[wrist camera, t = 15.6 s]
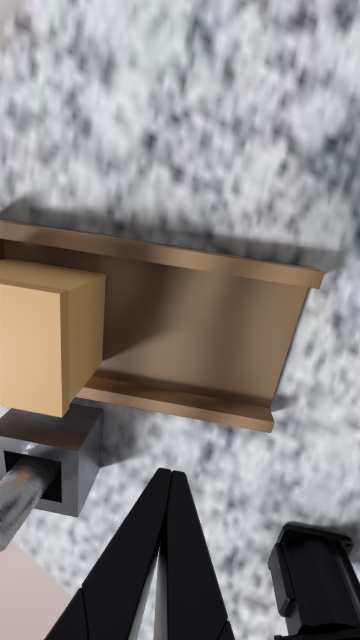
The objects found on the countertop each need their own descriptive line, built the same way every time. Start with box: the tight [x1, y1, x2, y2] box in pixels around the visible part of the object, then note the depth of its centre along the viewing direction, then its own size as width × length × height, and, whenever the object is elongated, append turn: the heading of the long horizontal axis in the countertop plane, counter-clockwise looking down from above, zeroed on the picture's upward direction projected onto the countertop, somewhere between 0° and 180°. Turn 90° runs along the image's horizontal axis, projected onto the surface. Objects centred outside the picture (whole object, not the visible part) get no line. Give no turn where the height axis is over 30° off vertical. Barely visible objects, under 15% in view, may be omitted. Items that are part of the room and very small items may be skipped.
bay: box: [0, 219, 325, 433], centre depth 18 cm, size 22×12×3 cm, turn 82°
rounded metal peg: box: [0, 454, 61, 552], centre depth 19 cm, size 3×3×7 cm
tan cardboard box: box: [0, 258, 106, 417], centre depth 16 cm, size 7×7×6 cm
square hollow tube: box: [0, 404, 103, 517], centre depth 22 cm, size 7×7×4 cm
